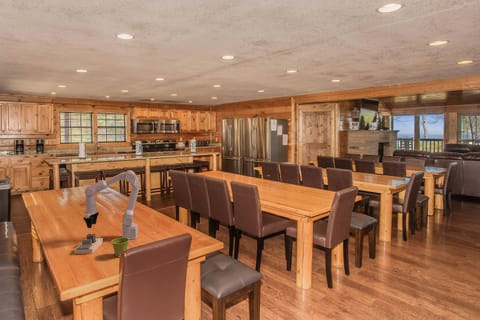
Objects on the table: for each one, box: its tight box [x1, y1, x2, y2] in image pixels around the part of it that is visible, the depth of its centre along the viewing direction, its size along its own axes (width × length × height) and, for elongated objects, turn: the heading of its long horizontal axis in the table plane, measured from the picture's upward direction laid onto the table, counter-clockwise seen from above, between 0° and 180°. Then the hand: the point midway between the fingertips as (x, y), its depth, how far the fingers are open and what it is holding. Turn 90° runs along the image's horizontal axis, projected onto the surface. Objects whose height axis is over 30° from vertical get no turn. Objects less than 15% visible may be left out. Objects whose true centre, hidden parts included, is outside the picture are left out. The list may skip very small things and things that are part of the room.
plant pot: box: [110, 237, 130, 258], centre depth 177 cm, size 9×9×9 cm
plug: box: [85, 231, 97, 243], centre depth 190 cm, size 4×4×8 cm
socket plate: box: [73, 237, 104, 255], centre depth 188 cm, size 10×18×2 cm, turn 6°
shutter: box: [76, 239, 92, 250], centre depth 181 cm, size 6×7×3 cm
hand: (91, 226), depth 197 cm, fingers open, 7 cm apart
